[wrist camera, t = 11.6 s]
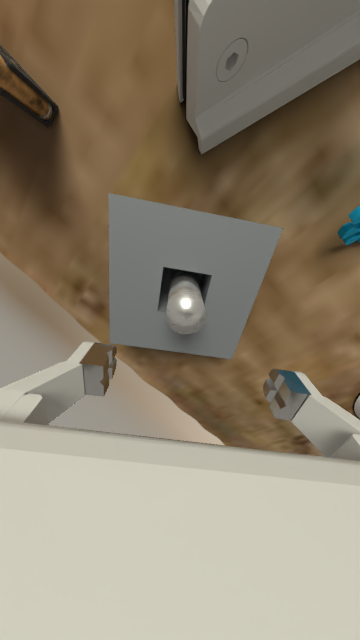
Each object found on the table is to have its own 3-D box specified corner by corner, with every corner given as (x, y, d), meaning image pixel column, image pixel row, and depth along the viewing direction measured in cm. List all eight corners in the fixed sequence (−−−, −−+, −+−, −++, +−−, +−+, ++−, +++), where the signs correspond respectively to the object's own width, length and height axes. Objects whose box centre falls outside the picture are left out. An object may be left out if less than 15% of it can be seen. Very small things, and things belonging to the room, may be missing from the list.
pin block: (256, 225, 21) (282, 228, 15) (221, 331, 27) (231, 359, 22) (127, 199, 19) (108, 193, 14) (123, 317, 26) (109, 343, 21)
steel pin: (198, 268, 22) (211, 301, 13) (192, 292, 23) (201, 336, 15) (172, 263, 22) (169, 294, 13) (169, 288, 23) (163, 331, 14)
